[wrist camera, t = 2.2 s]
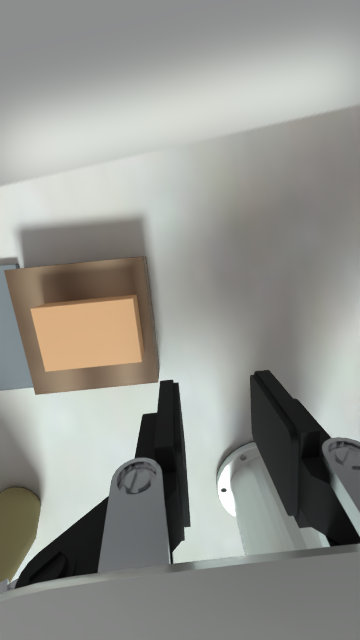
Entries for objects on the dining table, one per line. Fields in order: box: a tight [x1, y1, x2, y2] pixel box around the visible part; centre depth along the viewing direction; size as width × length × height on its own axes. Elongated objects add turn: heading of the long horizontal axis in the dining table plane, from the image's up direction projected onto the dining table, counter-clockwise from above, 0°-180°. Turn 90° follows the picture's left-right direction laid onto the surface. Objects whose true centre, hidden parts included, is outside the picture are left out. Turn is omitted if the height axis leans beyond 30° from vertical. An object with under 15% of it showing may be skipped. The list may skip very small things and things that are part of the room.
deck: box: [4, 256, 160, 395], centre depth 28 cm, size 13×13×4 cm
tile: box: [31, 295, 144, 372], centre depth 25 cm, size 9×6×2 cm, turn 95°
